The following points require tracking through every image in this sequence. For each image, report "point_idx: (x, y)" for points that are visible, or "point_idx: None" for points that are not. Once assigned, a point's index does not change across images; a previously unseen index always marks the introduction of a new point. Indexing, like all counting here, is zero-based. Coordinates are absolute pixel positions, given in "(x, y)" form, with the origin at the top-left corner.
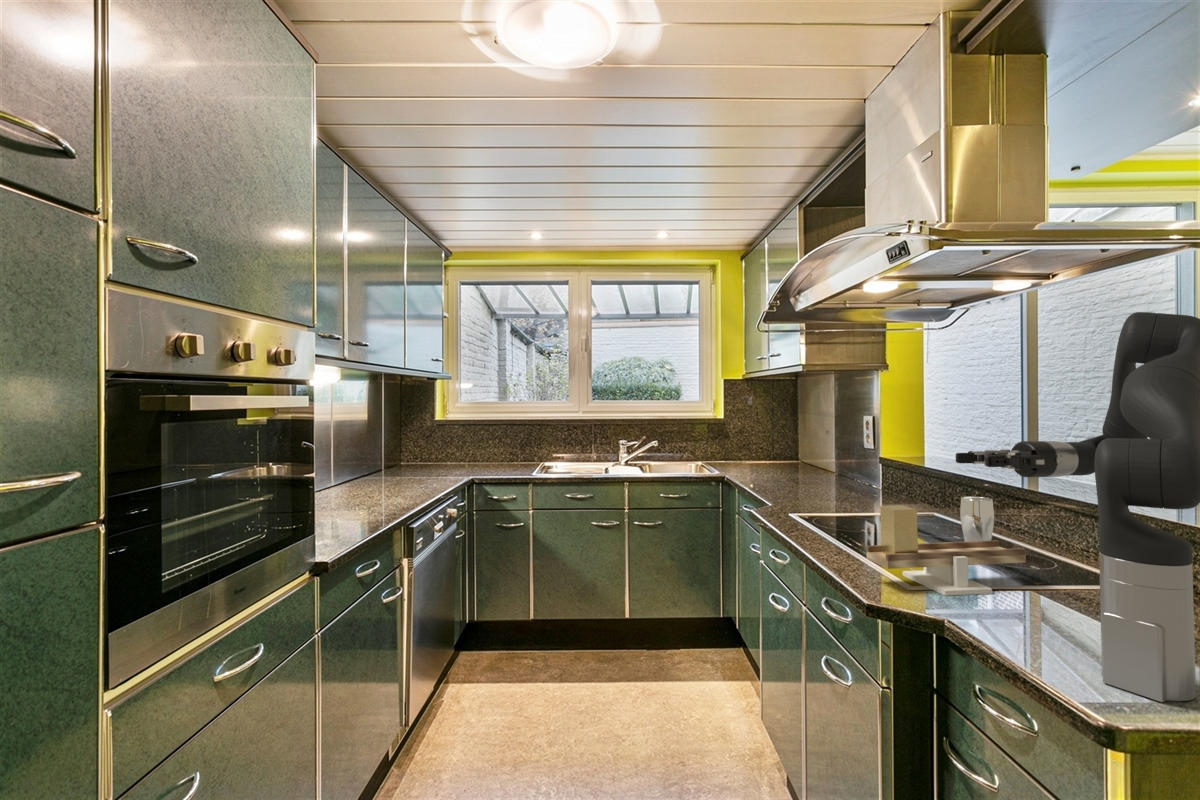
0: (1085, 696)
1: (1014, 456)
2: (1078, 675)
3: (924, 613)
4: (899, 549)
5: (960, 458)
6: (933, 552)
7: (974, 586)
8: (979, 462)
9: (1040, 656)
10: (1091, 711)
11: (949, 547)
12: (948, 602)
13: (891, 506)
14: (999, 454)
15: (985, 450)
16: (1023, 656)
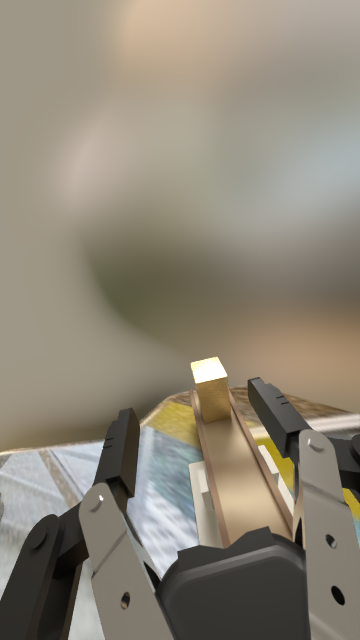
0: (9, 464)
1: (92, 560)
2: (19, 483)
3: (145, 424)
4: (198, 399)
5: (253, 396)
6: (201, 437)
7: (210, 527)
8: (294, 484)
9: (51, 474)
10: (3, 454)
11: (275, 500)
12: (169, 460)
13: (214, 364)
14: (234, 555)
15: (327, 499)
16: (59, 459)
